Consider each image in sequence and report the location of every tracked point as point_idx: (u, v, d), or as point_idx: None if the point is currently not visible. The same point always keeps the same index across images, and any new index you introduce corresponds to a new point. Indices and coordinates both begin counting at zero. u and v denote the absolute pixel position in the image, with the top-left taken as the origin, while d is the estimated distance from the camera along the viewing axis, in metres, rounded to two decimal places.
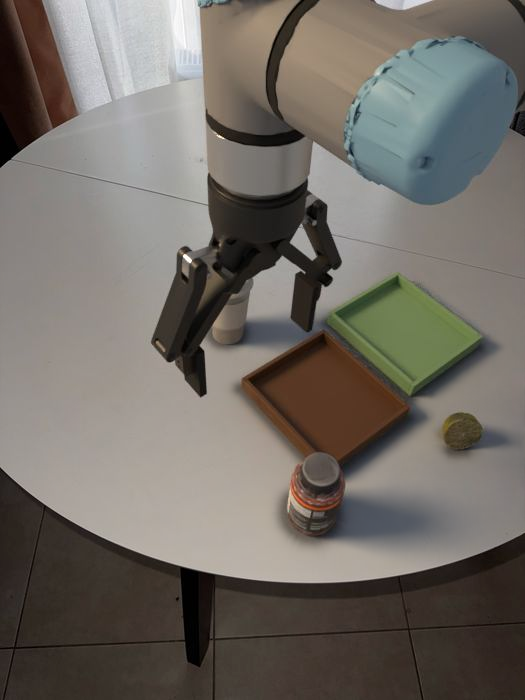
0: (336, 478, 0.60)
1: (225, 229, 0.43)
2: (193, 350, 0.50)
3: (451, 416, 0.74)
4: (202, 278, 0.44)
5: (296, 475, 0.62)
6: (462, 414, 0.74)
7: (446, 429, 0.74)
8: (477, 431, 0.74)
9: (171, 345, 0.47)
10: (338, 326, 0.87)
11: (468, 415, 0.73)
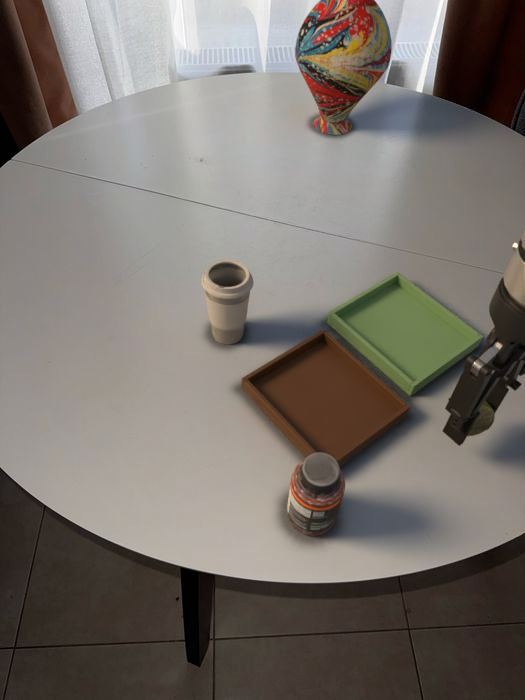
0: (336, 478, 0.60)
1: (514, 335, 0.56)
2: (476, 413, 0.65)
3: None
4: (489, 375, 0.58)
5: (296, 475, 0.62)
6: None
7: None
8: (489, 416, 0.71)
9: (465, 415, 0.63)
10: (338, 326, 0.87)
11: None
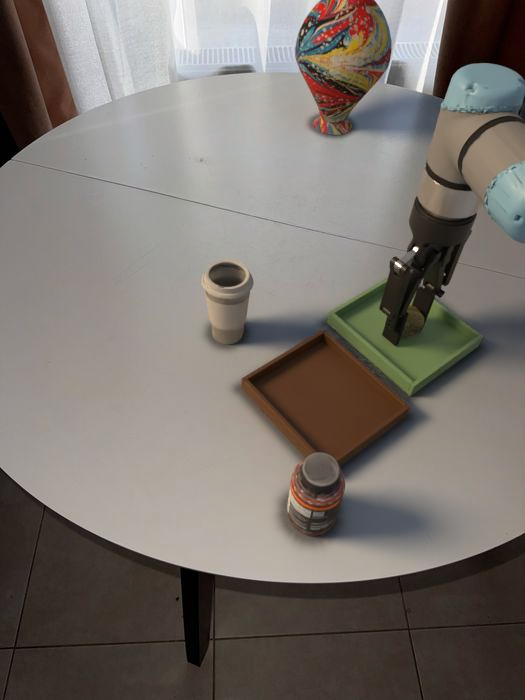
0: (336, 478, 0.60)
1: (425, 238, 0.70)
2: (404, 312, 0.80)
3: None
4: (408, 273, 0.72)
5: (296, 475, 0.62)
6: None
7: None
8: (419, 321, 0.85)
9: (394, 311, 0.77)
10: (338, 326, 0.87)
11: (411, 306, 0.84)
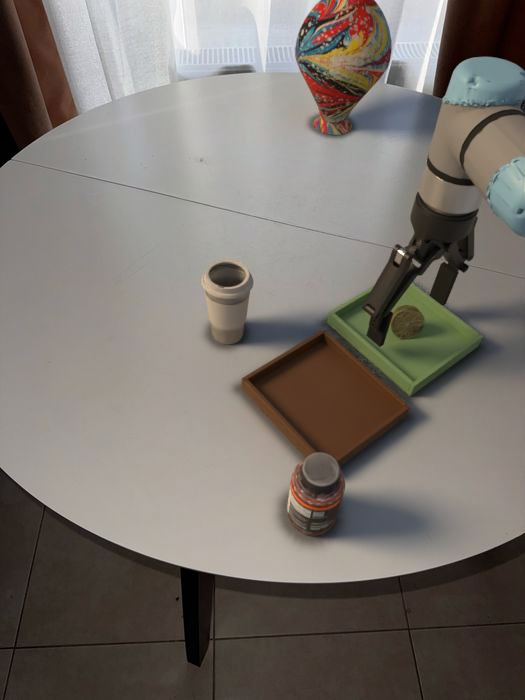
0: (336, 478, 0.60)
1: (427, 234, 0.69)
2: (388, 312, 0.76)
3: (397, 308, 0.85)
4: (409, 264, 0.71)
5: (296, 475, 0.62)
6: (406, 305, 0.85)
7: (392, 319, 0.85)
8: (419, 321, 0.85)
9: (380, 308, 0.74)
10: (338, 326, 0.87)
11: (411, 306, 0.84)
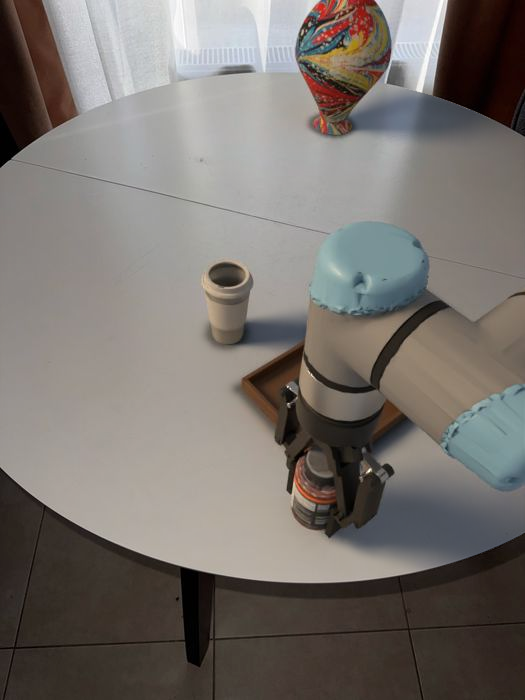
0: None
1: None
2: (288, 456, 0.63)
3: None
4: (284, 402, 0.57)
5: (300, 467, 0.60)
6: None
7: None
8: None
9: (275, 431, 0.63)
10: None
11: None
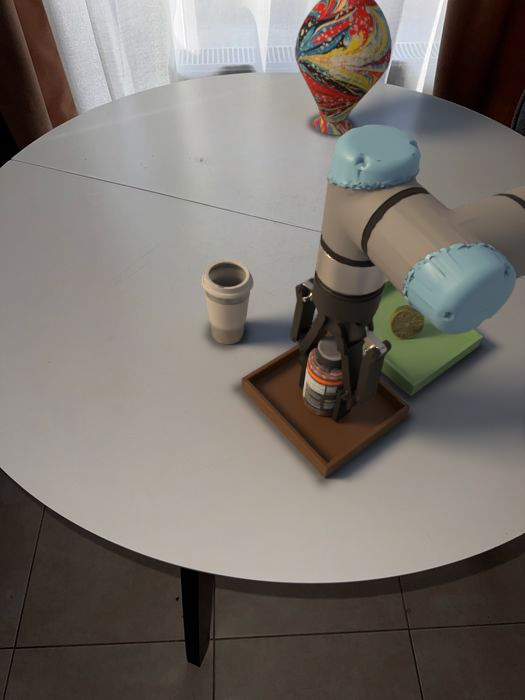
0: None
1: None
2: (302, 350, 0.75)
3: (397, 308, 0.85)
4: (300, 297, 0.69)
5: (312, 356, 0.72)
6: (406, 305, 0.85)
7: (392, 319, 0.85)
8: (419, 321, 0.85)
9: (291, 329, 0.74)
10: None
11: None
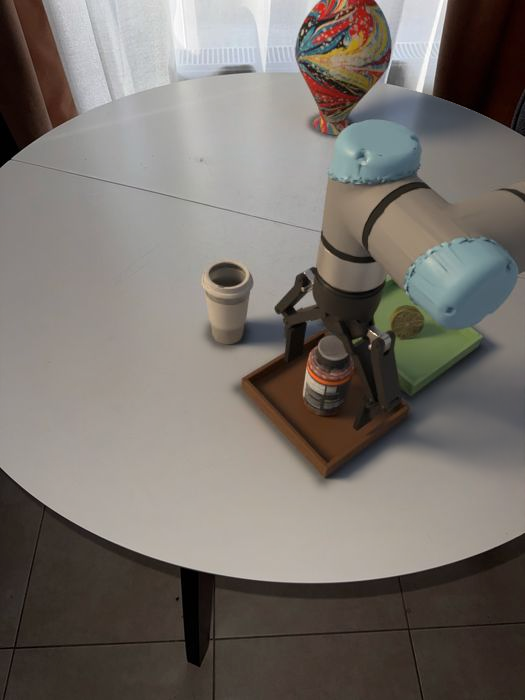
0: (347, 354, 0.70)
1: None
2: (286, 322, 0.75)
3: (397, 308, 0.85)
4: (299, 285, 0.68)
5: (312, 356, 0.72)
6: (406, 305, 0.85)
7: (392, 319, 0.85)
8: (419, 321, 0.85)
9: (278, 303, 0.74)
10: None
11: (411, 306, 0.84)
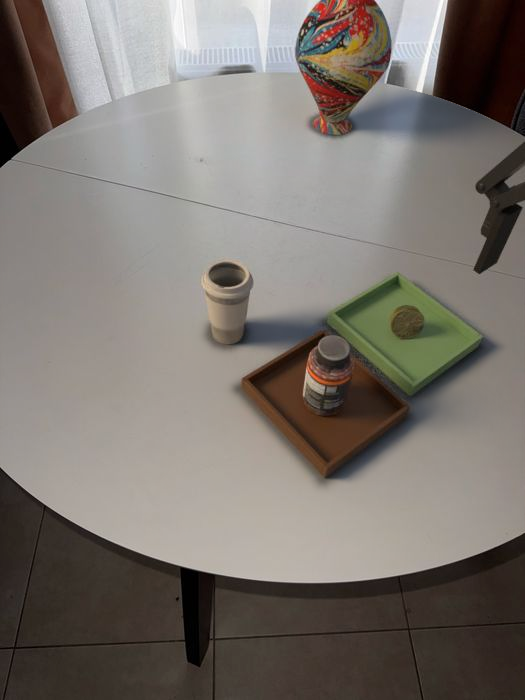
0: (347, 354, 0.70)
1: None
2: (497, 204, 0.50)
3: (397, 308, 0.85)
4: None
5: (312, 356, 0.72)
6: (406, 305, 0.85)
7: (392, 319, 0.85)
8: (419, 321, 0.85)
9: (487, 173, 0.49)
10: (338, 326, 0.87)
11: (411, 306, 0.84)
